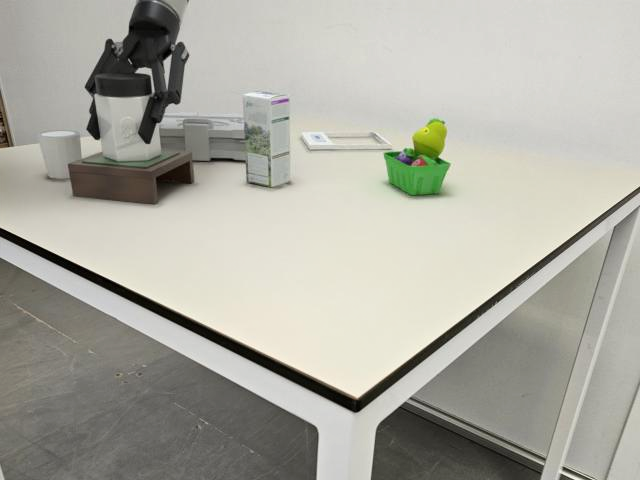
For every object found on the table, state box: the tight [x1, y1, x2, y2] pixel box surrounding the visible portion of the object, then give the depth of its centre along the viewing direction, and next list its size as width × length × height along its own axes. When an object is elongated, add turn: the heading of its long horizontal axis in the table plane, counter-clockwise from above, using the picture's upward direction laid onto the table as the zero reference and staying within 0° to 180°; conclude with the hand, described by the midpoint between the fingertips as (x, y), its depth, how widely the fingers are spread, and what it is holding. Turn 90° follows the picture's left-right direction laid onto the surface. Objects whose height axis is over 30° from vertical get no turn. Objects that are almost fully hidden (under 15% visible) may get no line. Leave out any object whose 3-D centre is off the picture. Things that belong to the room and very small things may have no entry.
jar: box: [94, 72, 161, 162], centre depth 93 cm, size 9×8×12 cm
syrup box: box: [242, 90, 292, 188], centre depth 101 cm, size 6×6×14 cm
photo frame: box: [300, 131, 393, 151], centre depth 136 cm, size 15×1×18 cm
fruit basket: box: [383, 117, 452, 196], centre depth 101 cm, size 11×9×11 cm
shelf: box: [68, 150, 195, 205], centre depth 97 cm, size 14×14×5 cm
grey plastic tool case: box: [158, 111, 246, 162], centre depth 123 cm, size 19×28×8 cm
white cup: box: [36, 129, 83, 180], centre depth 104 cm, size 7×7×7 cm
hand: (118, 136), depth 92 cm, fingers closed on jar, 8 cm apart
